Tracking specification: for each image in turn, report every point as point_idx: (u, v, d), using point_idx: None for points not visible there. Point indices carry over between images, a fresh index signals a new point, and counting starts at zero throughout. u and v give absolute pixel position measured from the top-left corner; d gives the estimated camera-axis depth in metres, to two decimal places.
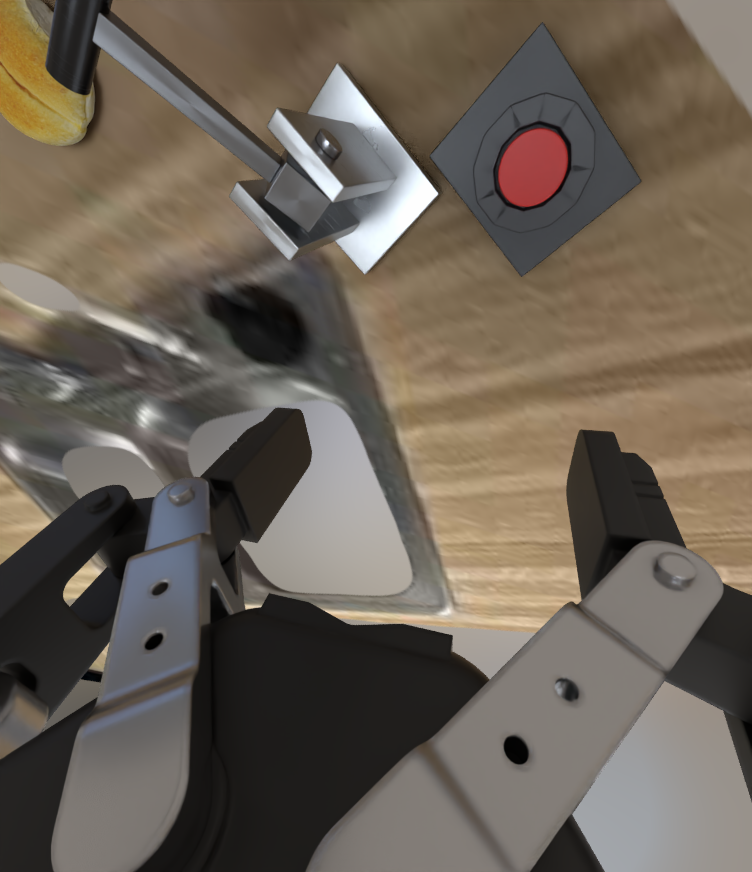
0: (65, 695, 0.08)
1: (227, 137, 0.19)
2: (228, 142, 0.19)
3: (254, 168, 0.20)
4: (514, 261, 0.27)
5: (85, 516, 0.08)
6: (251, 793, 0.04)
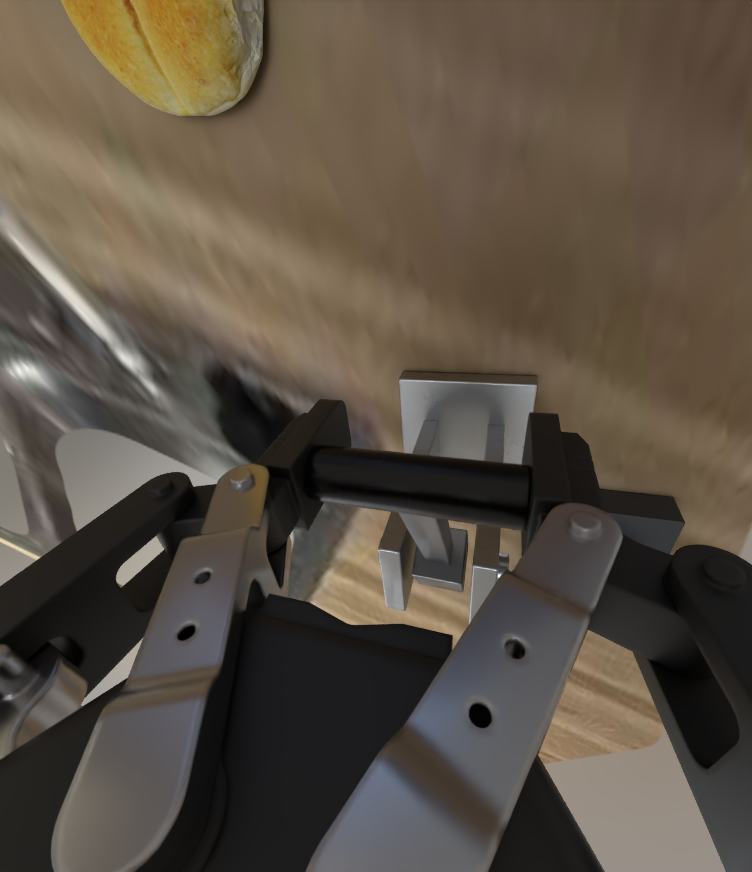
0: (108, 671, 0.08)
1: (431, 552, 0.15)
2: (427, 551, 0.15)
3: (426, 558, 0.16)
4: None
5: (148, 501, 0.09)
6: (251, 793, 0.04)
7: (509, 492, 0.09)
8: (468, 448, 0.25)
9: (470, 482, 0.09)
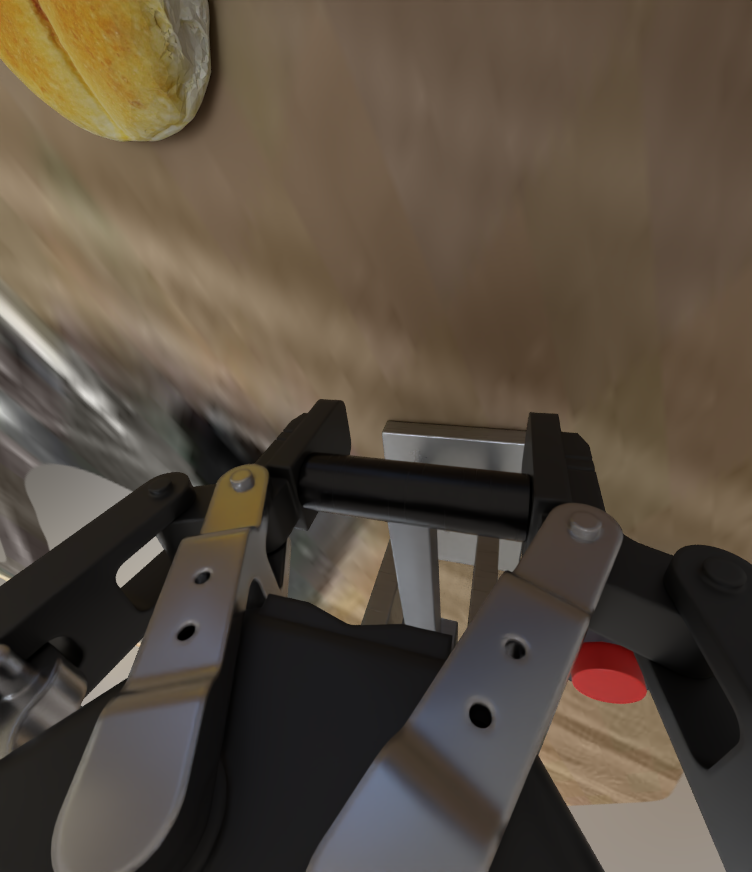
0: (108, 671, 0.08)
1: (417, 626, 0.13)
2: None
3: None
4: None
5: (148, 500, 0.09)
6: (251, 793, 0.04)
7: (510, 489, 0.08)
8: None
9: (470, 480, 0.09)
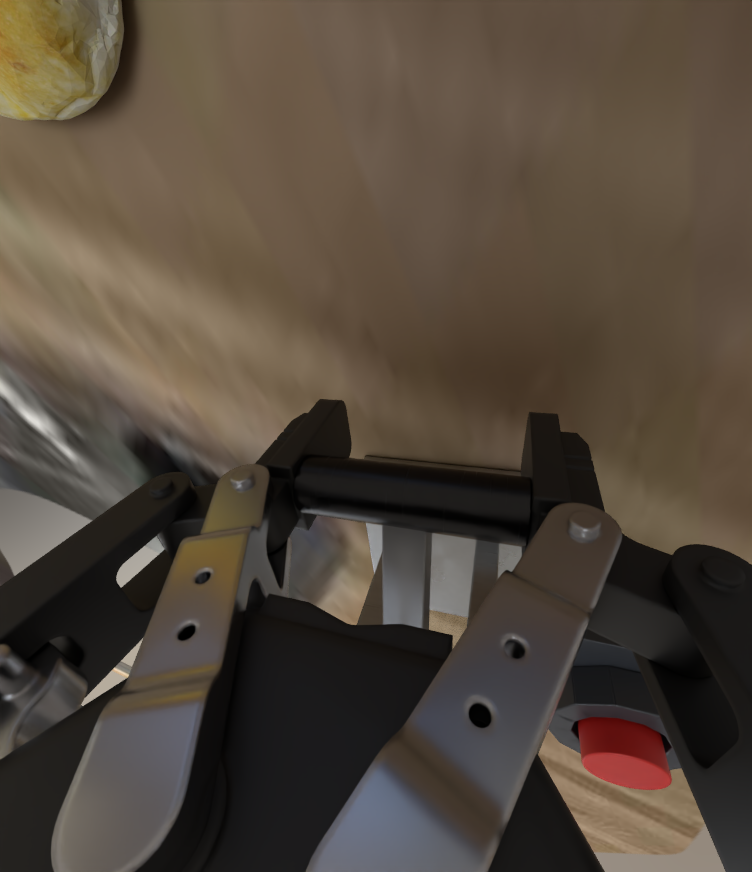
0: (108, 670, 0.08)
1: None
2: None
3: None
4: None
5: (148, 500, 0.09)
6: (251, 793, 0.04)
7: (510, 482, 0.08)
8: (452, 555, 0.19)
9: (470, 475, 0.09)
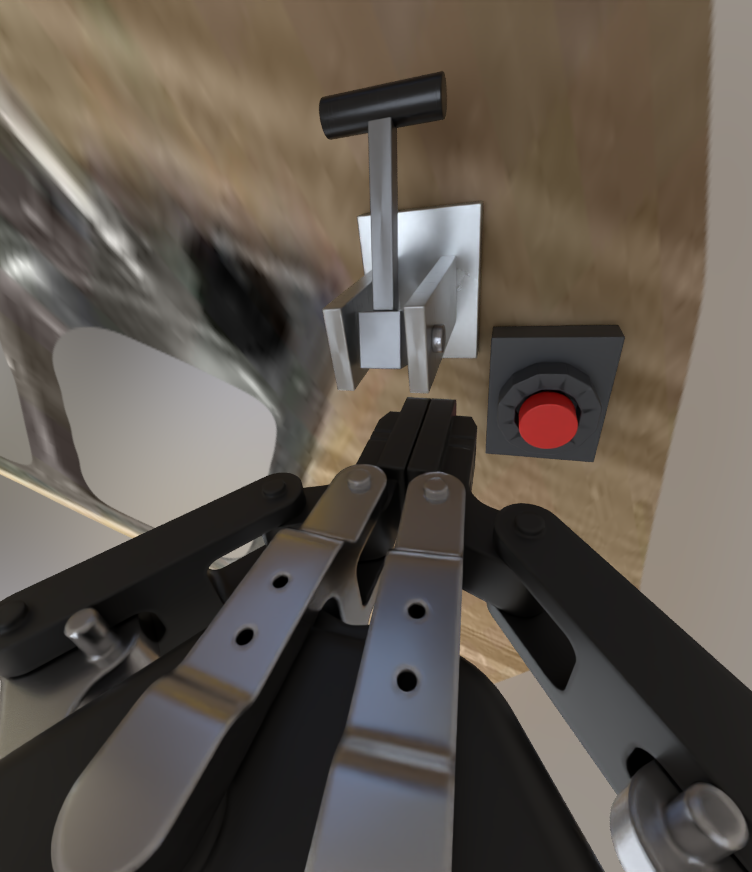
0: None
1: (380, 255, 0.19)
2: (377, 258, 0.19)
3: (374, 291, 0.19)
4: (489, 442, 0.31)
5: (258, 500, 0.08)
6: (251, 793, 0.04)
7: None
8: None
9: None
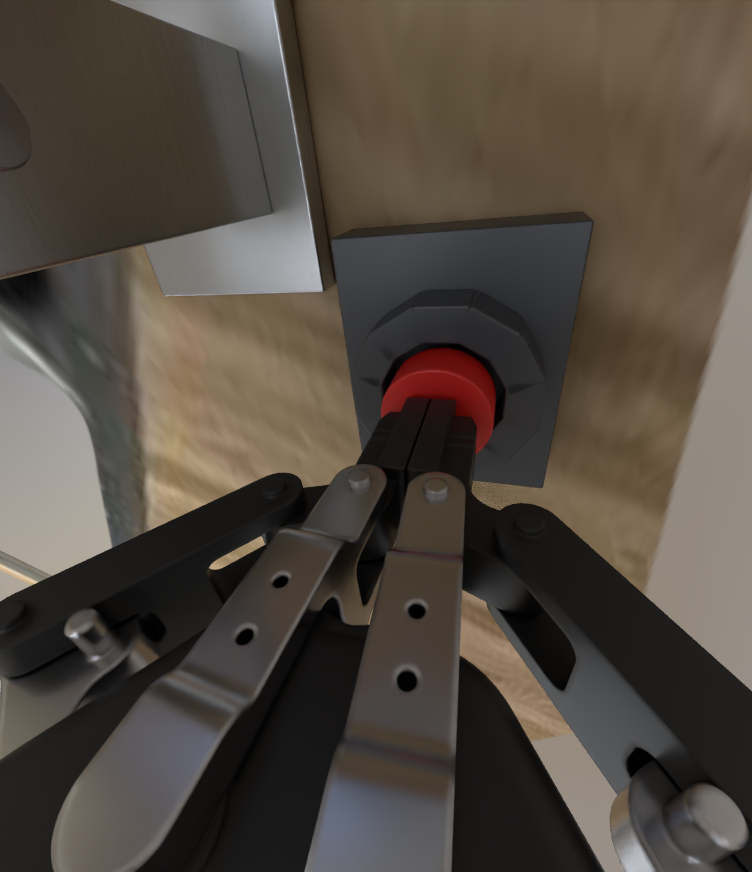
0: None
1: None
2: None
3: None
4: None
5: (258, 500, 0.08)
6: (251, 793, 0.04)
7: None
8: None
9: None
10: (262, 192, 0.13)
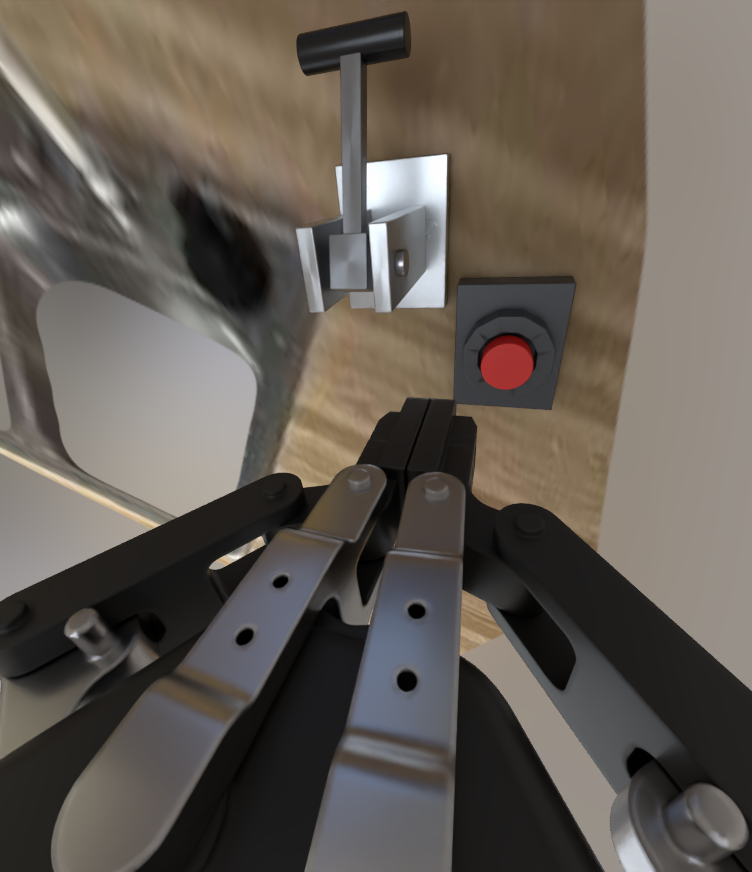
0: None
1: (350, 182, 0.20)
2: (347, 185, 0.21)
3: (344, 216, 0.21)
4: (456, 391, 0.33)
5: (258, 500, 0.08)
6: (251, 793, 0.04)
7: None
8: None
9: None
10: (424, 262, 0.29)
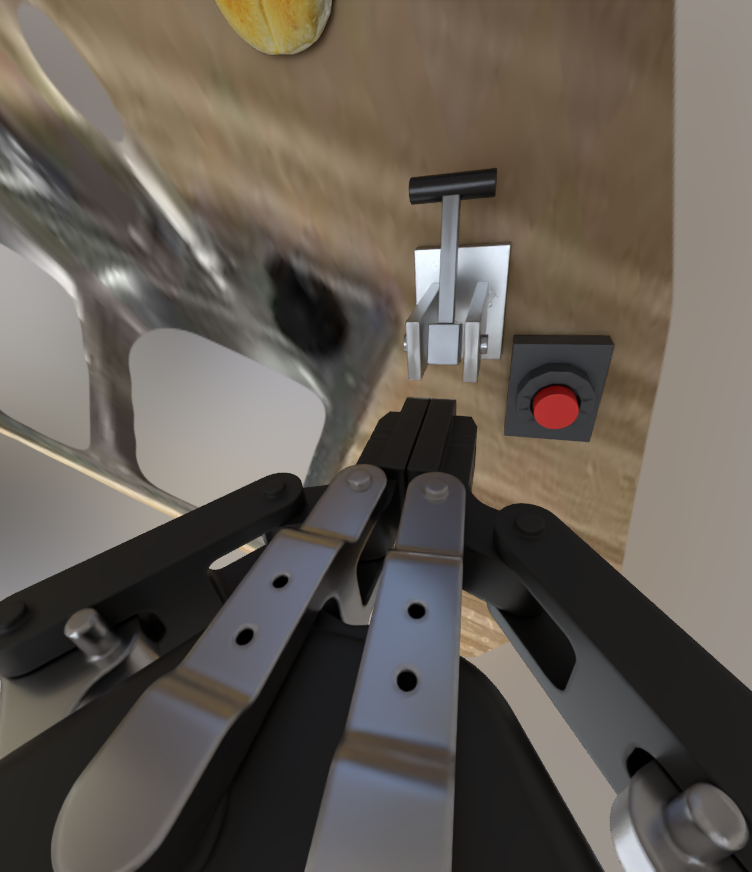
0: None
1: (445, 285, 0.27)
2: (443, 287, 0.27)
3: (439, 309, 0.27)
4: (507, 426, 0.40)
5: (258, 500, 0.08)
6: (251, 793, 0.04)
7: None
8: (464, 304, 0.35)
9: None
10: (486, 324, 0.35)
